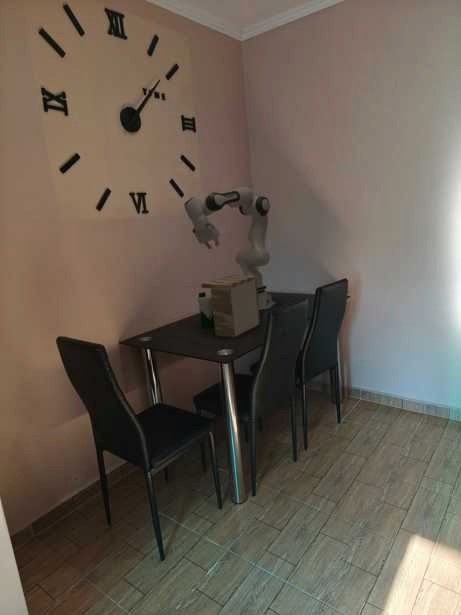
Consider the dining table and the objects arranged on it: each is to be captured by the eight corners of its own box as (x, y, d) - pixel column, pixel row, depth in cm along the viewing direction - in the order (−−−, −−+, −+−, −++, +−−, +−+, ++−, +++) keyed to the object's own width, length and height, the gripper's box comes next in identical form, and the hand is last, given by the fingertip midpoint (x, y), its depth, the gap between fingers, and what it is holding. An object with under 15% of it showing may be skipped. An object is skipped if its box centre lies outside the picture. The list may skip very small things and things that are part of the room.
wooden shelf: (234, 321, 243) (230, 275, 237) (260, 323, 232) (256, 275, 226) (207, 334, 223) (201, 284, 216) (233, 337, 212) (228, 285, 206)
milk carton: (203, 324, 243) (200, 291, 239) (218, 323, 241) (215, 290, 237) (200, 328, 235) (195, 294, 231) (215, 328, 233) (211, 294, 229)
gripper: (215, 219, 223) (227, 241, 226) (199, 227, 241) (210, 247, 244) (206, 224, 220) (218, 246, 223) (190, 231, 238) (202, 252, 241)
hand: (214, 247), depth 234 cm, fingers open, 8 cm apart
